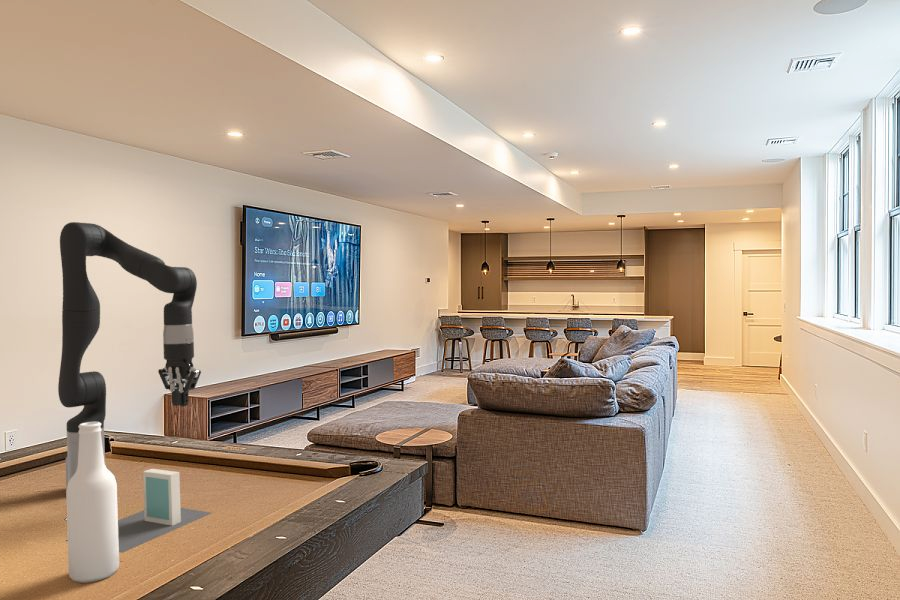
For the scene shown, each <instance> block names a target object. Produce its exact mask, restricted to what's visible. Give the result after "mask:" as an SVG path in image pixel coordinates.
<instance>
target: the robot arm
mask: <svg viewBox="0 0 900 600" xmlns="http://www.w3.org/2000/svg"><path fill="white" fill-rule="evenodd" d="M59 250H60V260H61V270H62V271H61V272H62V307H61V308H62V310H61V311H62V312H61V313H62V315H61V318H62V319H61V320H62V321H61V322H62V323H61V324H62V327H61V328H62V334H61V335H62V337H61V338H62V339H61V340H62V343H61V345H62V346H61V357H60V366H59V367H60V368H59V373H58V374H59V375H58V376H59V377H58V385H57V387H58V388H57V389H58V390H57V392H58V398H59V402H60V403H61V405H62V406H63V407H65V408H76V407H83V408H82V410H81V411H80V412H78V414H76V415H75V416H73V417H71V418H70V419H68V420H67V422H66V447H67V448H66V449H67V456H66V457H65V482H66V483H65V484H66V485H65V486H66V487H65V488H67V486H68V482H69V481H70V479H71V478H72V477H73V475H74V474H75V473H76V470H77V467H78V452H79V433H78V431H79V427H78V426H79V425H80V424H82V423H86V422H100V423H101V429H102V431H101V438H102V447H103V455H104V463H105V464H106V456H105V454H106V453H105V449H106V448H105V428H104V427H105V424H104V423H105V420H106V410H107V408H106V407H107V405H106V404H107V386H106V385H107V384H106V380H105V378H104V375H103V374H102V373H101V372H99V371H94V370H93V371H84V372H81V365H82V360H83V357H84V354H85V352H86V351H87V349H88V347H89V346H90V345H91V343H92V341H93V340H94V338H95V336H96V335H97V333H98V331H99V329H100V327H101V326H100V325H101V302H100V299H99V297H98V295H97V293H96V291H95V288H94V287H93V285H92V284H91V282H90V280H89V277H88V273H87V257H96V256H97V257H100V258H101V257H102V258H105V259H109V260H112V261H114V262H116V263H117V264H118V265H119V266H120V267H121V268H122V269H123V270H125V271H126V272H127V273H129V274H130V275H133V276H135V277H137V278H139V279H142V280H144V281H146V282H148V283H149V284H150V285H151V286H153V287H154V288H155V289H157V290H159V291H161V292H163V293H166V294H172V300H171V301H170V302H168V303H165V305H164V306H163V330H162V331H163V332H162V333H163V335H162V338H163V339H162V340H163V342H162V343H163V360H166V361H165V362H166V363H165V366H164V367H163V368H161V369H158V370H157V371H158V375H159V376H160V379H161V381H162V383H163V386H164V389H165V390H169V391H170V393H171V403H172V406H174V407H178V406H180V407H187V406H188V404H189V392H190V391H193V390H195V389H196V386H197V383H198V381H199V379H200V376H201V373H202V371H201V369H196V368H195V367H194V363H193V358H194V357H195V344H194V343H195V342H194V329H193V312H192V310H193V309H192V308H193V306H194V301H195V298H196V297H195V296H196V294H197V293H196V292H197V287H198V280H197V277H196V274H195V272H194V271H193V270H192V269H190V268H188V267H186V266H185V267H183V266H181V267H180V266H170V265H167V264H166V263H165V261H164V260H163V259H161V258H160V257H158V256H156V255H154V254H151V253H149V252H147V251H144V250H142V249H140V248H137V247H136V246H133V245H131V244H128V243H127V242H125V241H124V240H122V239H121V238H119V237H117V236H116V235H115V234H113V233H111V231H109V230H108V229H106V228H104V227H102V226H101V225H99V224H96V223H89V222H75V221H74V222H73V221H71V222H68V223H66V224H65V225H64V226H63V227H62V229H61V231H60V236H59Z"/></svg>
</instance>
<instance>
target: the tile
mask: <svg viewBox="0 0 900 600" xmlns="http://www.w3.org/2000/svg"><path fill="white" fill-rule="evenodd" d="M142 475H143V479H142V480H143V503H144V504H143V508H144V517H145V521H149V522H155V523H160V524H166V525H172V526H173V525H175V524H177V523H179V522H181V509H180V508H181V484H180V483H181V479H180V477H181V473H180V471H173V470H166V469H159V468H150V469H146V470H143V472H142Z"/></svg>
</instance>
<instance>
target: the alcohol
mask: <svg viewBox="0 0 900 600" xmlns="http://www.w3.org/2000/svg"><path fill="white" fill-rule="evenodd" d="M78 427H79V431H78V433H79V452H78V467H77V470H76V473H75V474H74V475H73V477H72V478H71V479H70V481H69V482H68V486H67V487H66V491H65V495H66V497H65V498H66V499H65V500H66V526H67V527H66V528H67V530H66V531H67V540H68V541H67V558H68V559H67V560H68V576H69V578H70V579H71V580H72V581H73V582H75V583H80V584H81V583H82V584H85V583H87V584H88V583H94V582H99V581H102V580H104V579H106V578H107V579H108V578H110V577H111V576H113V575H114V574H115V573H116V572H117V570H118V569H119V567H120V552H119V541H118V520H119V516H118V514H119V512H118V511H119V509H118V484H117V480H116V476H115V475H114V474H113V473H112V472H111V470H109V469H108V468H107V466H106V462H105V463H104V455H103V447H102V438H101V431H102V429H101V423H100V422H86V423H82V424H80V425H79V426H78Z"/></svg>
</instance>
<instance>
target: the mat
mask: <svg viewBox="0 0 900 600" xmlns="http://www.w3.org/2000/svg"><path fill="white" fill-rule="evenodd" d="M180 509H181V522H179V523H177V524H175V525H173V526H172V525H166V524H160V523H155V522H149V521H145V517H144V510H141V511H138V512H135V513H133V514H131V515H128V516H125V517H123V518H121V519H118V541H119V553H125V552H128V551H130V550H132V549H134V548H136V547H139V546H140V545H144V544H145V543H147V542H150V541H152V540H154V539H156V538H159V537H161V536H164V535H167V534H168V533H170V532H173V531H175V530H177V529H180V528H182V527H184V526H186V525H188V524H190V523H193V522H195V521H197V520H200V519H202V518H205V517H206V516H208V515H211V514H212V512H211V511H205V510H198V509H192V508H191V509H190V508H186V507H180ZM65 542H68V539H67V540H65Z"/></svg>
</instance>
